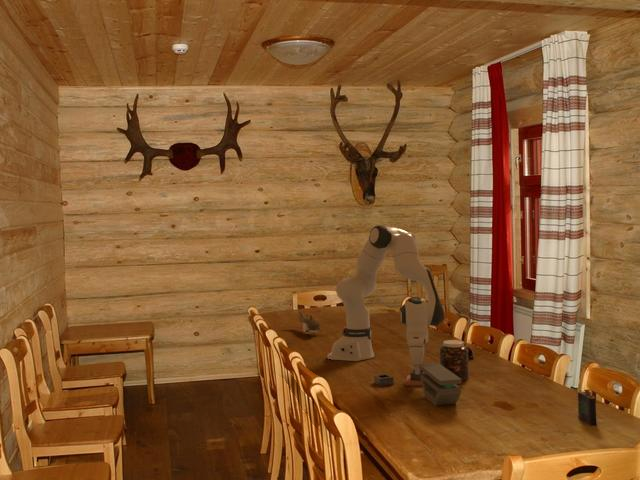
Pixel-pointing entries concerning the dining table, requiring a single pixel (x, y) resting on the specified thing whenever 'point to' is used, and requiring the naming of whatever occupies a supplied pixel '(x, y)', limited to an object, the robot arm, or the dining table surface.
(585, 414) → the flask
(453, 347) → the jar
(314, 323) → the wood carving
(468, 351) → the pottery mug
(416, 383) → the keeper
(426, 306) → the robot arm
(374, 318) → the dining table surface
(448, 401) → the grey lidded box
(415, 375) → the link
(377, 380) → the loose link
